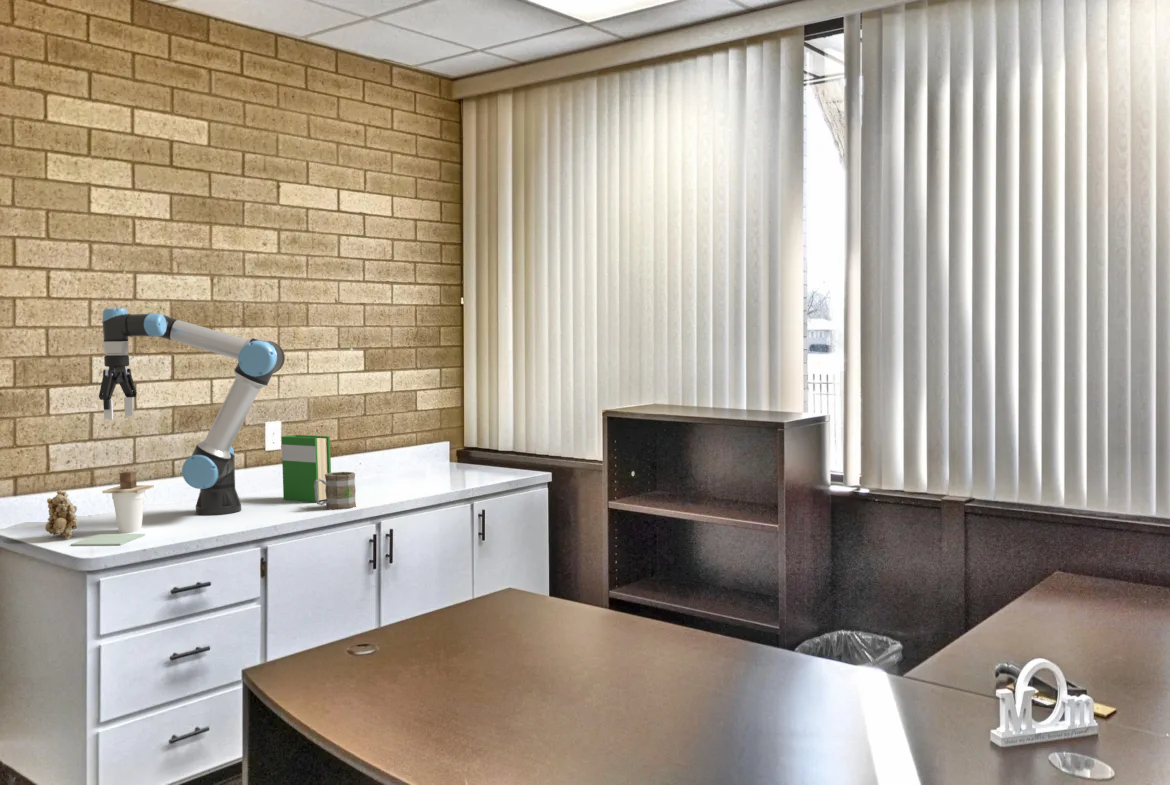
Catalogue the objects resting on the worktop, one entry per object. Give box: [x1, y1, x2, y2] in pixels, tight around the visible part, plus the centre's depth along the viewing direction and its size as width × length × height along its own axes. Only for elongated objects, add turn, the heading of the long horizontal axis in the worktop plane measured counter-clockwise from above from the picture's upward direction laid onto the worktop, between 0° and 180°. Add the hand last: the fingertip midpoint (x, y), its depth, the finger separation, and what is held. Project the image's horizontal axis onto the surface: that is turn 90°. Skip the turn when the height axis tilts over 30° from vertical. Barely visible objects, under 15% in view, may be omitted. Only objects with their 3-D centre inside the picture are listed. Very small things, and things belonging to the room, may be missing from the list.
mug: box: [314, 471, 357, 511], centre depth 350 cm, size 16×11×12 cm
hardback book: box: [281, 434, 332, 504], centre depth 370 cm, size 18×7×24 cm, turn 59°
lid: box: [102, 471, 155, 494], centre depth 312 cm, size 11×11×6 cm
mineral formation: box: [44, 489, 79, 540], centre depth 303 cm, size 8×13×15 cm, turn 50°
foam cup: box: [111, 490, 146, 534], centre depth 313 cm, size 10×9×13 cm
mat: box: [70, 533, 146, 547], centre depth 298 cm, size 15×15×1 cm
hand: (119, 418), depth 330 cm, fingers open, 13 cm apart
